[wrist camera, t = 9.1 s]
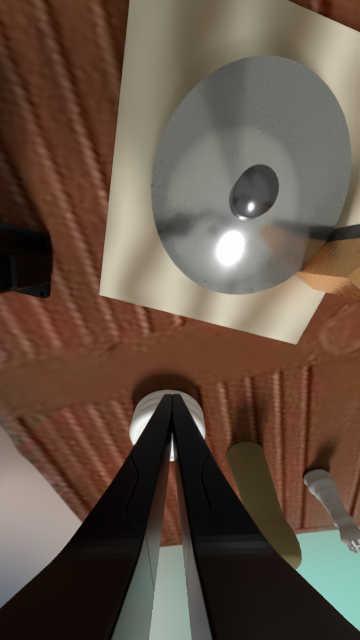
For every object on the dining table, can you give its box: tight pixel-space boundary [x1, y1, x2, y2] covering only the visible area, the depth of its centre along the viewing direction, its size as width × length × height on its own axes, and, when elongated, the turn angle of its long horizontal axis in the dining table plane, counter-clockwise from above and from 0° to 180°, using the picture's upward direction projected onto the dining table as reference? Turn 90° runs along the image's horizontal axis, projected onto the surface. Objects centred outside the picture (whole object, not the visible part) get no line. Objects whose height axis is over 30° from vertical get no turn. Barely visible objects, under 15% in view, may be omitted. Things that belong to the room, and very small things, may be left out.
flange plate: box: [151, 55, 360, 300], centre depth 12 cm, size 18×15×6 cm
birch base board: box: [99, 0, 360, 344], centre depth 13 cm, size 22×22×6 cm
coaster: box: [130, 390, 205, 461], centre depth 24 cm, size 10×10×4 cm
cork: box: [226, 442, 302, 569], centre depth 23 cm, size 6×6×11 cm
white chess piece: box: [304, 469, 360, 553], centre depth 26 cm, size 4×4×8 cm
